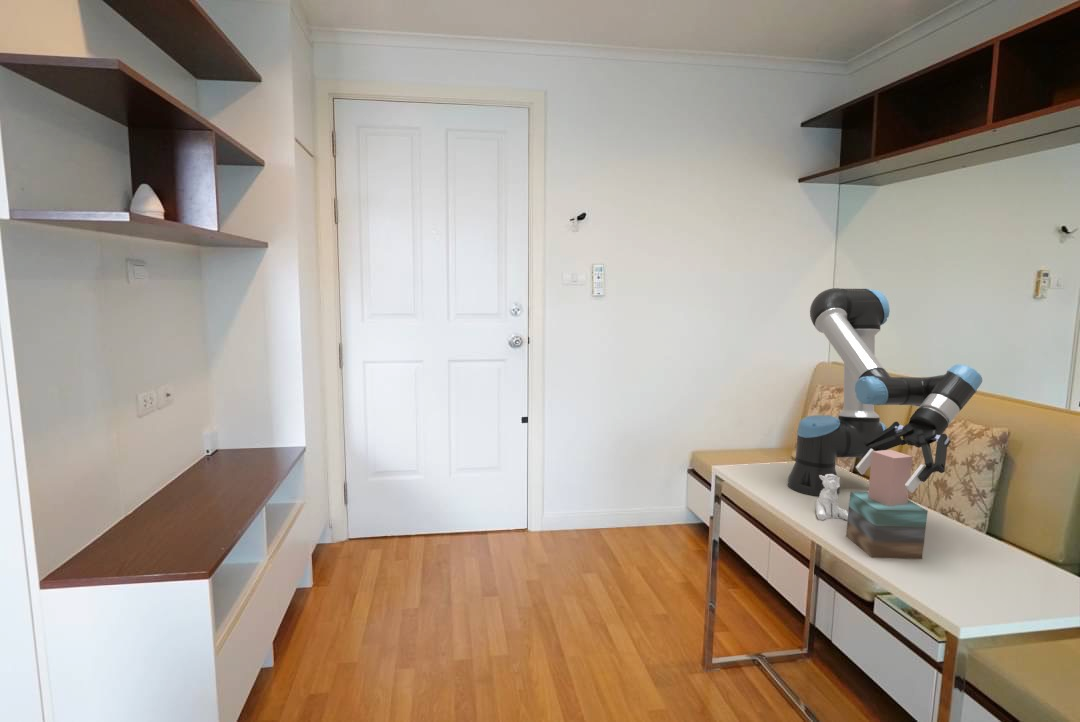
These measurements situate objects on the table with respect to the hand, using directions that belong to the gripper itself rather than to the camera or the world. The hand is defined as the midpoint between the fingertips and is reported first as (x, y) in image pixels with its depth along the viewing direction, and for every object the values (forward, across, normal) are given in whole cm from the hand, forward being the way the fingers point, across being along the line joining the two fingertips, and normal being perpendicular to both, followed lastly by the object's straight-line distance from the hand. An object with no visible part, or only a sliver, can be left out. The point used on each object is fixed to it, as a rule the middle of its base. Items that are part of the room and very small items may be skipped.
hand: (882, 479), depth 140 cm
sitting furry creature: (+9, +20, -16) cm, 28 cm away
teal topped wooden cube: (+11, 0, -14) cm, 18 cm away
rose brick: (+2, 0, -6) cm, 6 cm away
